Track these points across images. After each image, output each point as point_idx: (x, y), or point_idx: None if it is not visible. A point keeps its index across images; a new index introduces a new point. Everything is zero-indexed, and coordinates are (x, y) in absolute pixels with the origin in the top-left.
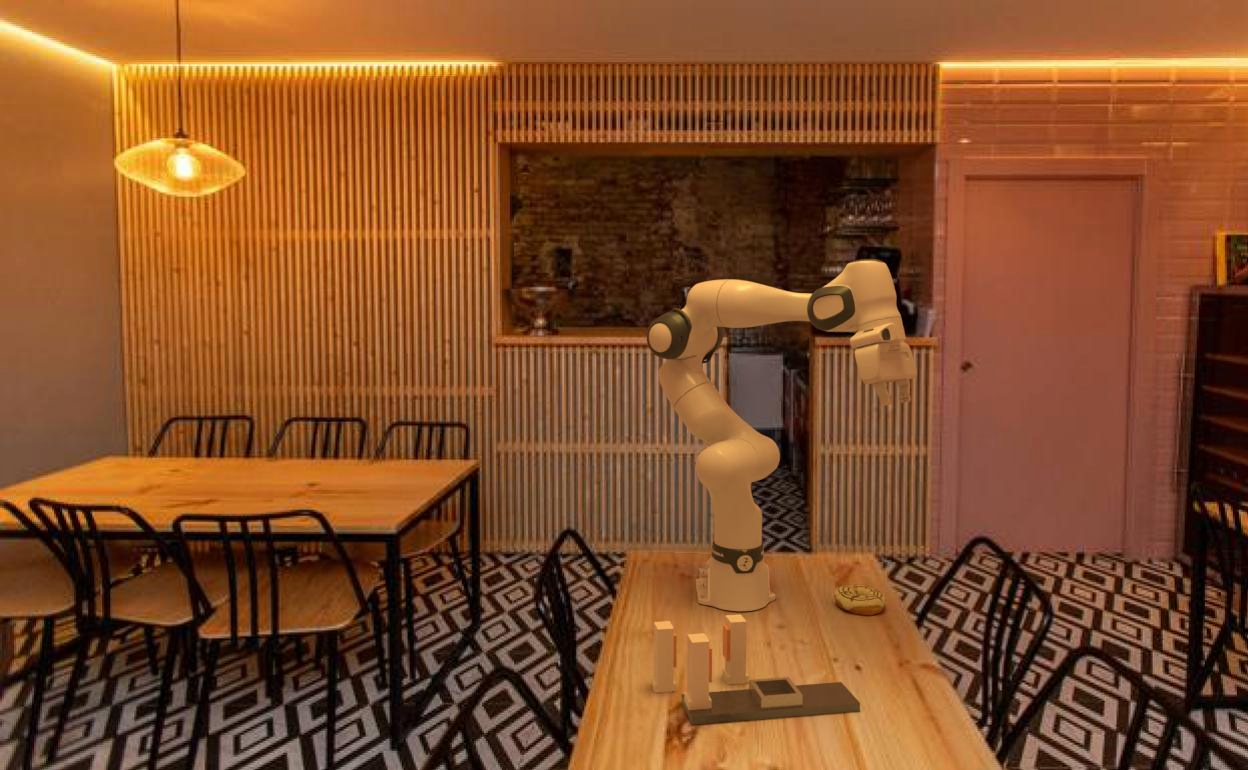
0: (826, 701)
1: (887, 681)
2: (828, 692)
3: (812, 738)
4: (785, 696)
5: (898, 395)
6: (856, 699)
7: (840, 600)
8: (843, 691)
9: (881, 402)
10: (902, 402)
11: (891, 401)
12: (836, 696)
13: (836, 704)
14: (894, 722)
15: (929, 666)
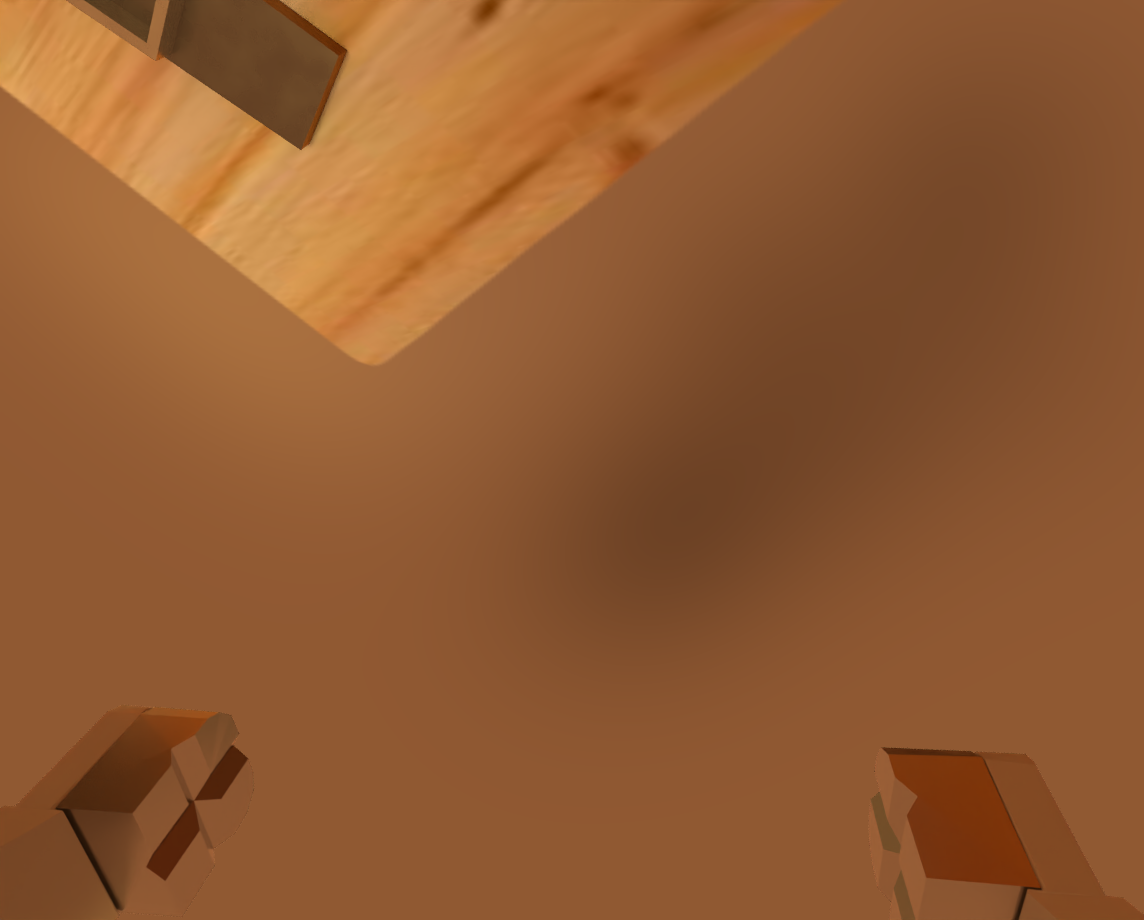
0: (237, 86)
1: (479, 118)
2: (270, 64)
3: (147, 126)
4: (112, 31)
5: (915, 866)
6: (306, 135)
7: None
8: (307, 90)
9: (92, 744)
10: (879, 767)
11: (219, 823)
12: (275, 90)
13: (249, 112)
14: (337, 219)
15: (636, 161)
